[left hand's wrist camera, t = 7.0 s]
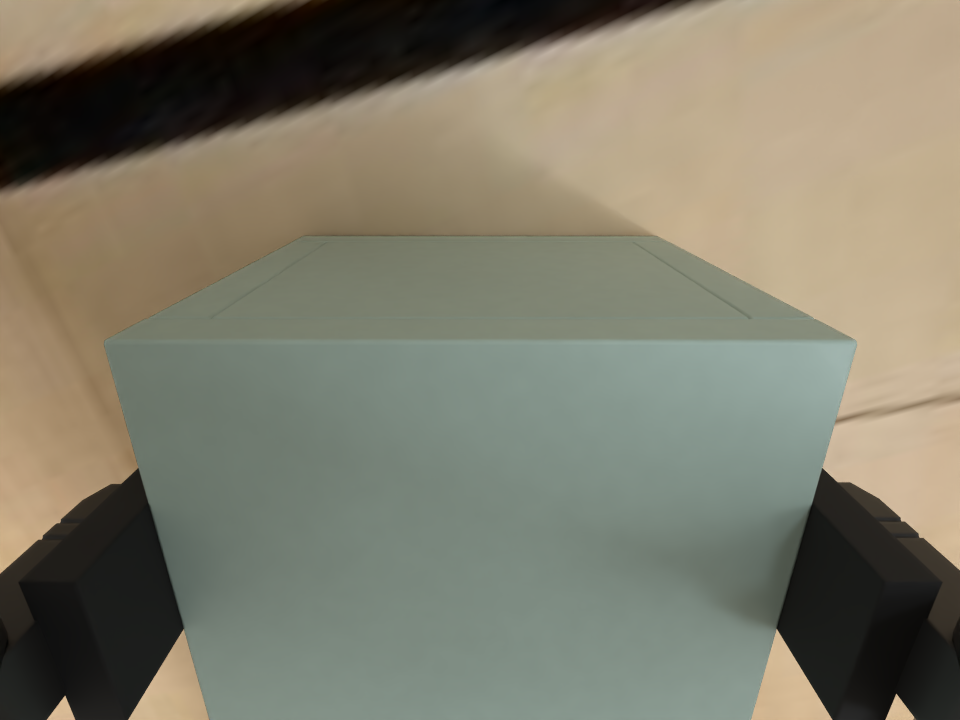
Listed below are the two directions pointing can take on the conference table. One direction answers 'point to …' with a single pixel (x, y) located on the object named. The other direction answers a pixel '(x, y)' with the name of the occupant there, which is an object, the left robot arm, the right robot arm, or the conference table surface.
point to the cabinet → (480, 476)
